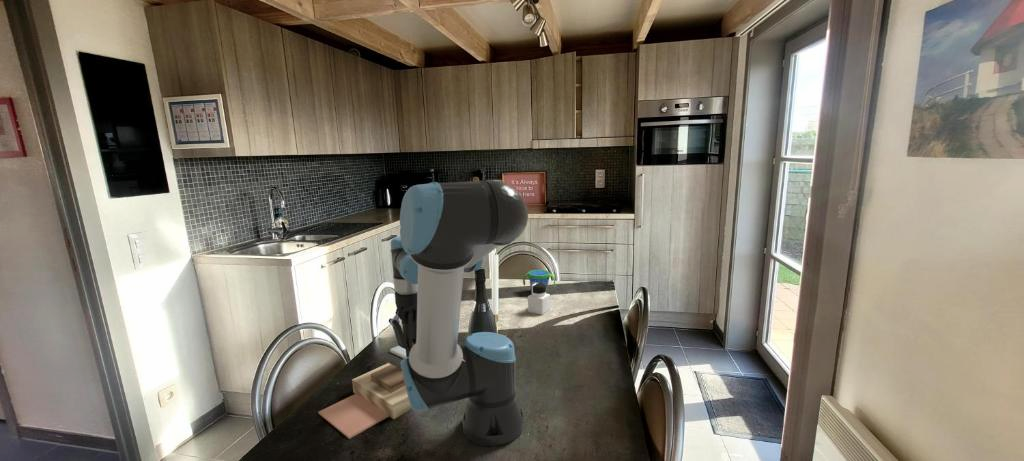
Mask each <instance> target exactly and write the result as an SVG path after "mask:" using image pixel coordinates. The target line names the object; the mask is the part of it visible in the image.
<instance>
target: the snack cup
mask: <svg viewBox="0 0 1024 461" xmlns="http://www.w3.org/2000/svg"><path fill="white" fill-rule="evenodd" d="M526 276H528V278H529V284H530V285H529V286H530V292H531V293H532V285H533V284H535V283H543V284H545V285H546V293H547V292H548V287H549V280H550V277H551V279H552V280H553V288H555V286H556V278H555V276H554V275H553V274H552V273H550V271H549V270H544V269H531V270H530V271H528V272H526V273H525V274H524V276H523V277H522V278H523V279H522V283H523V284H522V285H523V286H526V279H525V278H526ZM547 294H548V293H547Z"/></svg>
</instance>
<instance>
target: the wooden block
mask: <svg viewBox="0 0 1024 461" xmlns="http://www.w3.org/2000/svg"><path fill="white" fill-rule="evenodd" d="M370 375H371V381H372V382H374V383H376V384H377V385H379V386H381V387H382V388H384V389H385V390H387V391H389V392H390V393H392V392H394V391H396V390H398V389H400V388H402V387H404V386H405V382H404V378H403V373H402V369H401V368H399V367H398V366H396V365H394V364H392V365H389V366H387V367H385V368H383V369H381V370H379V371H376V372H374V373H372V374H370Z"/></svg>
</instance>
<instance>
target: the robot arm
mask: <svg viewBox="0 0 1024 461" xmlns="http://www.w3.org/2000/svg"><path fill="white" fill-rule="evenodd" d="M528 210H529V209H528V206H527V203H526V201H525V200H524V198H523V196H522V195H521V194H520V193H519V191H517V189H515V188H514V187H513V186H511V185H509V184H507V183H505V182H503V181H499V180H493V179H485V180H484V179H483V180H473V181H472V180H471V181H455V182H454V181H453V182H451V181H450V182H437V181H433V182H432V181H431V182H429V183H424V184H423V183H421V184H416V185H412V186H410V187H409V188H408V189H407V190H406V192H405V193H404V196H403V198H402V201H401V207H400V214H399V225H400V228H399V229H400V230H399V235H400V236H398V237H397V236H396V237H393V238H392V239H391V240H390V254H391V263H392V272H393V275H392V276H393V288H394V302H395V306H396V310H395V314H394V316H393V317H392V318H391V317H390V318H389V319H388V322H389V324H390V325H391V326H392V329H393V333H394V336H395V337H396V340H397V344H398V345H399V346H400V347H402V348H404V349H406V357H407V358H405V359H404V358H402V359H401V361H400V367H401V368H400V369H401V370H402V373H403V378H404V382H405V386H406V391H407V395H408V399H409V402H410V406H411V408H412V409H411V410H412V411H415V412H422V411H426V410H432V409H434V408H437V407H440V406H444V405H447V404H451V403H454V402H458V401H461V400H465V399H468V400H467V403H466V405H465V410H464V413H463V416H462V432H463V434H464V436H465V438H467V439H468V440H469V441H470V442H471V443H474V444H476V445H478V446H479V445H480V446H483V447H497V446H503V445H506V444H509V443H512V442H513V441H514V440H516V439H517V438H518V437H520V435H521V434H522V432H523V431H524V427H525V419H524V418H525V417H524V412H523V410H522V408H521V405H520V402H519V400H518V397H517V388H516V387H517V386H516V385H517V382H516V376H517V375H516V360H517V357H516V353H515V345H514V342H513V341H512V340H511V339H510V338H509V337H507V336H506V335H503V334H500V333H497V332H493V331H492V332H491V331H490V332H489V331H481V332H478V331H477V332H473V333H471V334H470V335H468V336H467V337H466V338H465V341H464V345H459V344H458V337H459V328H460V327H459V326H460V318H461V317H460V316H461V305H462V296H463V294H462V293H463V285H464V274H465V273H471V272H474V271H479V270H480V269H481V268H482V267H483V263H484V262H483V260H484V258H486V257H487V256H488V255H489V254H490V253H492V252H493V251H495V249H497V248H498V247H499V246H501V247H502V246H507V245H509V244H511V243H513V242H514V241H515V240H518V238H519V237H520V236H521V235H522V234H523V233H524V231H525V230H526V227H527V225H528V221H529V220H528V219H529V212H528ZM400 323H401V324H400Z"/></svg>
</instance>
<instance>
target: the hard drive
mask: <svg viewBox="0 0 1024 461" xmlns="http://www.w3.org/2000/svg"><path fill="white" fill-rule="evenodd" d="M389 353H392V354H393V355H395V356H398V357H400V358H401V359H405V358H407V357H406V349H404V348H402V347H400V346H399V344H398V345H397V346H394V347H392V348H390V349H389Z"/></svg>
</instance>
